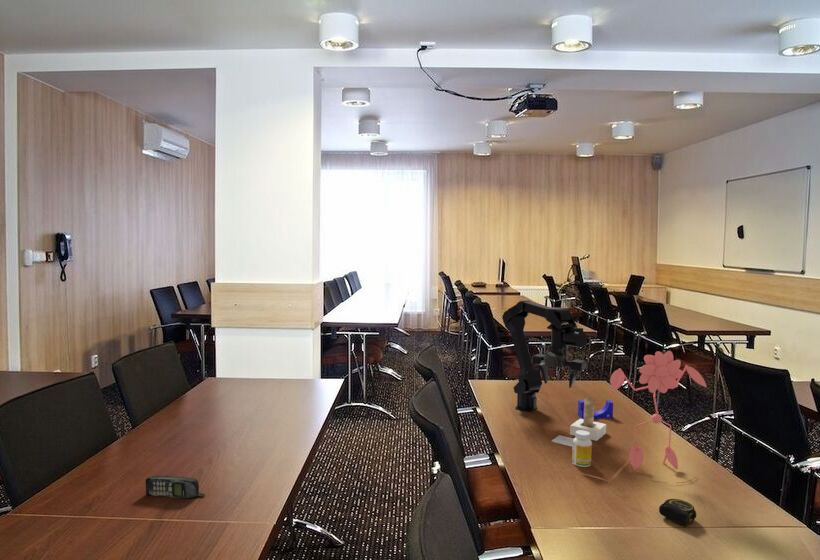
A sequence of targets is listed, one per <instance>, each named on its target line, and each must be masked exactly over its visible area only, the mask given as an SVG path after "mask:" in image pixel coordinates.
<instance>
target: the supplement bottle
mask: <svg viewBox="0 0 820 560" xmlns="http://www.w3.org/2000/svg"><path fill="white" fill-rule="evenodd" d="M589 438H590V433H589V432H588V431H584V430H578V431H576V435H575V436H574V438H573V447H572V451H571V463H572V464H573V465H575V466H577V467H581V468H582V467H583V468H587V467H591V465H592V450H593V448H592V447H593V442H592V440H591V439H589Z"/></svg>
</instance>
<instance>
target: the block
mask: <svg viewBox="0 0 820 560" xmlns="http://www.w3.org/2000/svg"><path fill="white" fill-rule="evenodd" d="M583 421H584V419H581V418H579V419H577V420H575V421H574V422H573V423H572V424H571V425H570V426H569V431H570V432H569V434H570V436H574V437H576V436H575V435H576V431H578V430H584V431H588V432H589V433H590V438H589V439H590V440H591V441H596V442H597V441H598V440H600V439H601V438H602V437H603V436H605V435H606V433H607V424H606V423H602V422H597V421H594V422H593V428H590V427H586V426H583Z"/></svg>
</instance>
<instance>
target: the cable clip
mask: <svg viewBox="0 0 820 560" xmlns="http://www.w3.org/2000/svg"><path fill="white" fill-rule="evenodd" d="M577 402H578V403H577V416H578V417H579V419H584V399H578V401H577ZM613 417H614V402H613V401H612V400H611V399H610V400H609V399H607V400H606V402H605V404H604V406H603V407H602V408H601V409H600V410H597V411H594V420H598V419H614V418H613Z"/></svg>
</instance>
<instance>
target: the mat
mask: <svg viewBox="0 0 820 560" xmlns="http://www.w3.org/2000/svg"><path fill="white" fill-rule="evenodd" d="M573 439H574V438H572V437H569V436H565V435H560V434H559V435H557V436H556V437H555V438H554V439H552V440H551V441H550V442H551V443H555V444H560V445H564V446H568V447H572V448H573Z"/></svg>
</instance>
